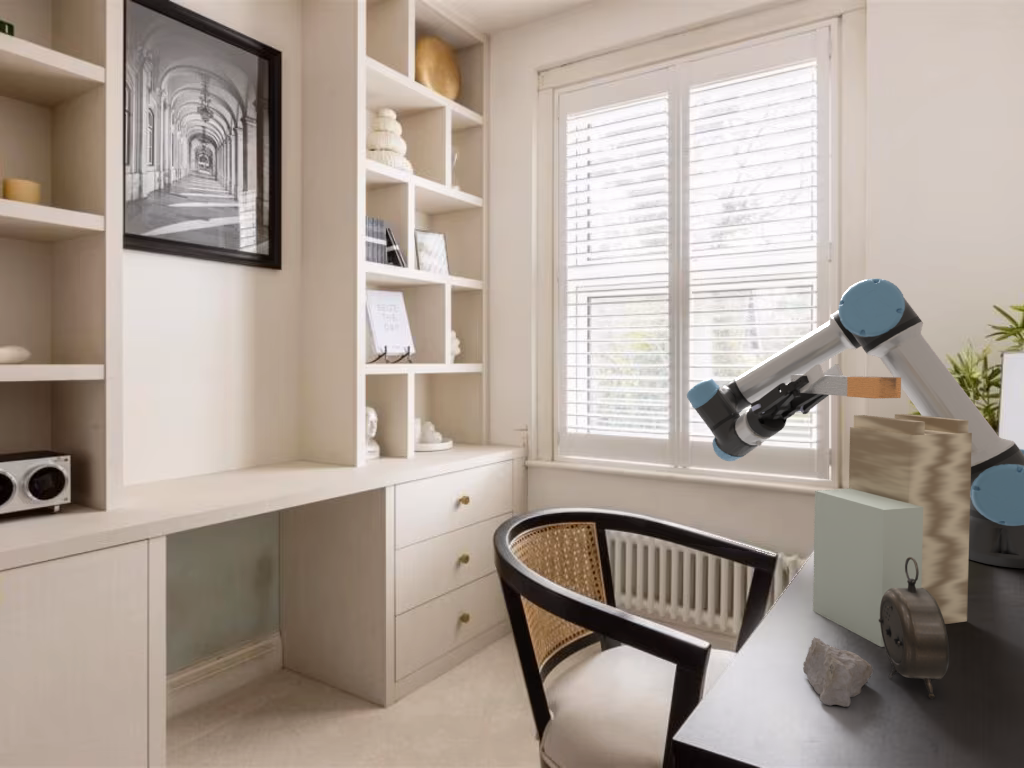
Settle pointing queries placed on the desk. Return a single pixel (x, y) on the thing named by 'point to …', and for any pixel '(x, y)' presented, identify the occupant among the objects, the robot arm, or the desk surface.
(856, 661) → the stone
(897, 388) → the grey long bar
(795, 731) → the desk surface
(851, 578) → the pale green block
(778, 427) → the robot arm
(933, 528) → the stand
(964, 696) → the desk surface
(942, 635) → the alarm clock
